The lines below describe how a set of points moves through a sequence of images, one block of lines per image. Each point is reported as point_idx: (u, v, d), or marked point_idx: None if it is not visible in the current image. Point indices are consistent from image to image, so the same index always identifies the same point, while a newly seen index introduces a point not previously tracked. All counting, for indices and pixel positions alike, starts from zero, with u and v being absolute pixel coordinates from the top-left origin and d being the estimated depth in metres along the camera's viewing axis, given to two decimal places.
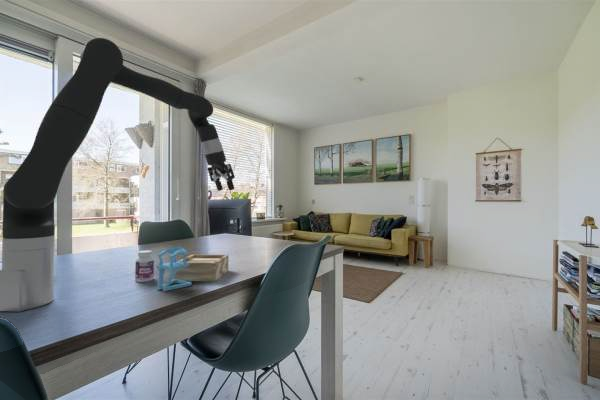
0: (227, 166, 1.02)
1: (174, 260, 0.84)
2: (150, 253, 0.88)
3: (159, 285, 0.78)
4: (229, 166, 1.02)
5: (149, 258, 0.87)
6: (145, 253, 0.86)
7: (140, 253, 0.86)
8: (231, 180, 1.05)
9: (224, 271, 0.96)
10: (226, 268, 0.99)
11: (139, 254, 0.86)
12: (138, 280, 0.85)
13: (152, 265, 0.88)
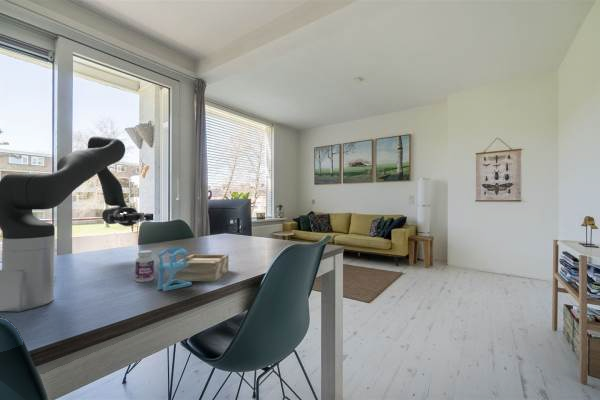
0: None
1: (174, 260, 0.84)
2: (150, 253, 0.88)
3: (159, 285, 0.78)
4: None
5: (149, 258, 0.87)
6: (145, 253, 0.86)
7: (140, 253, 0.86)
8: None
9: (224, 271, 0.96)
10: (226, 268, 0.99)
11: (139, 254, 0.86)
12: (138, 280, 0.85)
13: (152, 265, 0.88)
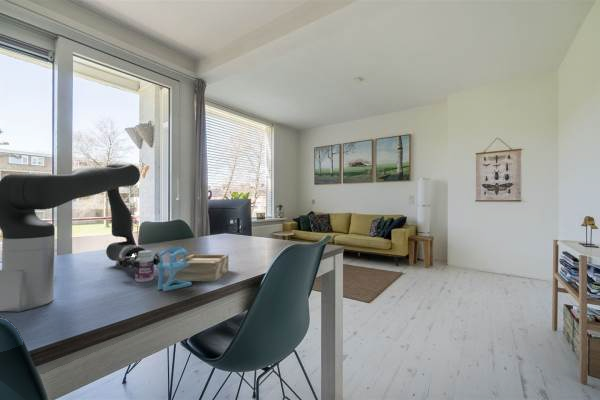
0: None
1: (174, 260, 0.84)
2: (150, 253, 0.88)
3: (159, 285, 0.78)
4: None
5: (149, 258, 0.87)
6: (145, 253, 0.86)
7: (140, 253, 0.86)
8: None
9: (224, 271, 0.96)
10: (226, 268, 0.99)
11: (139, 254, 0.86)
12: (138, 280, 0.85)
13: (152, 265, 0.88)
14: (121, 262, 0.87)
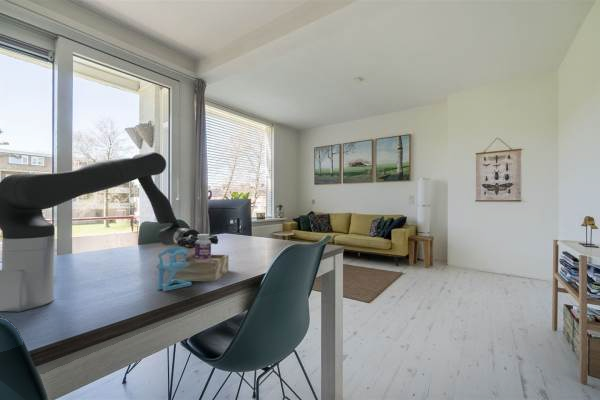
0: None
1: (174, 260, 0.84)
2: (208, 236, 0.94)
3: (159, 285, 0.78)
4: None
5: (207, 240, 0.94)
6: (204, 236, 0.93)
7: (200, 236, 0.93)
8: None
9: (224, 271, 0.96)
10: (226, 268, 0.99)
11: (199, 237, 0.93)
12: (198, 260, 0.92)
13: (210, 247, 0.94)
14: (179, 241, 0.93)
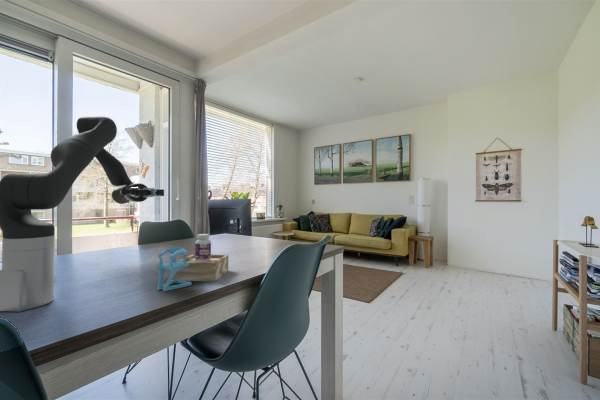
0: None
1: (174, 260, 0.84)
2: (208, 236, 0.94)
3: (159, 285, 0.78)
4: None
5: (207, 240, 0.94)
6: (204, 236, 0.93)
7: (200, 236, 0.93)
8: None
9: (224, 271, 0.96)
10: (226, 268, 0.99)
11: (199, 237, 0.93)
12: (198, 260, 0.92)
13: (210, 247, 0.94)
14: None
